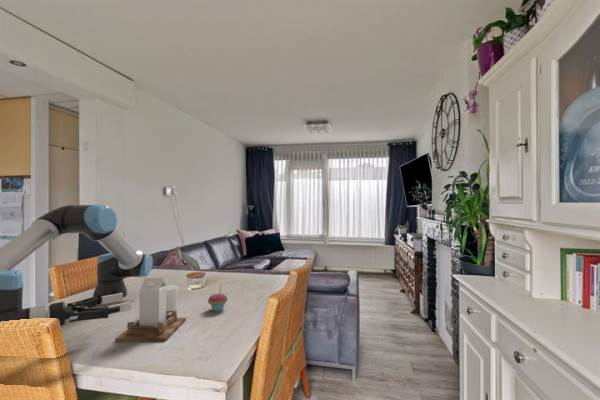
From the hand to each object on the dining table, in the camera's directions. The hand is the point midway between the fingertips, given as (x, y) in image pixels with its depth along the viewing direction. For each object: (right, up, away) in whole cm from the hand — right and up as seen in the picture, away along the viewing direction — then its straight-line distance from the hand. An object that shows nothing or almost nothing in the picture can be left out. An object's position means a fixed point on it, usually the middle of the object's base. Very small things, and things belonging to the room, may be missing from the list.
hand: (126, 300), depth 103 cm
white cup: (+2, -14, +28) cm, 31 cm away
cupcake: (+25, -14, +27) cm, 40 cm away
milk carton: (+7, -12, +6) cm, 15 cm away
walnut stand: (+7, -13, +6) cm, 16 cm away
